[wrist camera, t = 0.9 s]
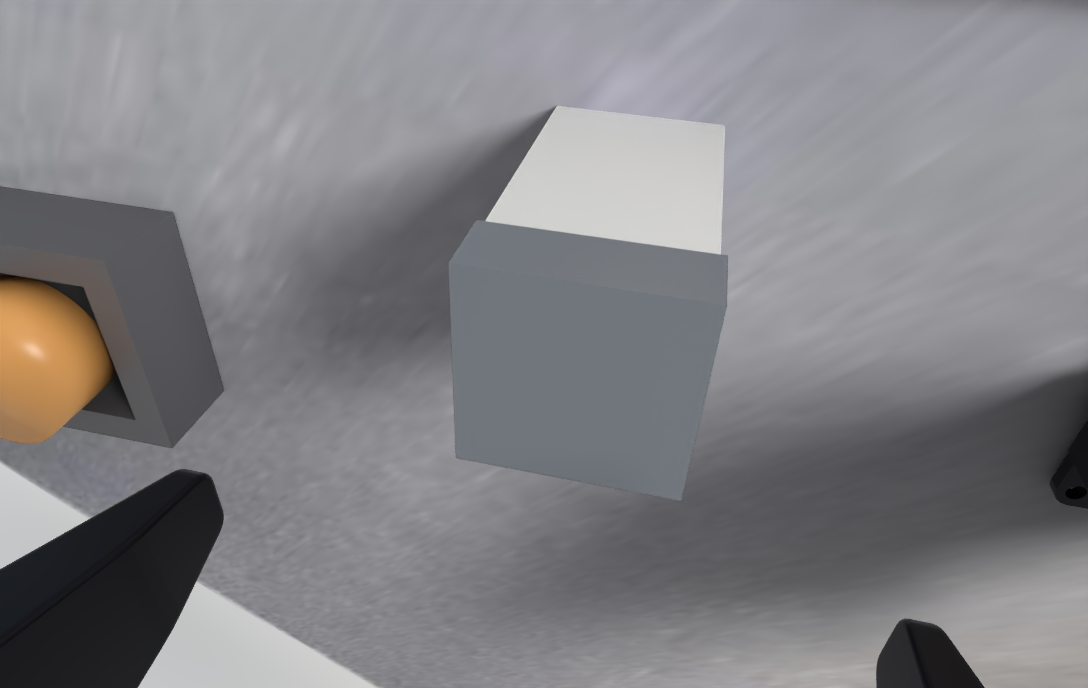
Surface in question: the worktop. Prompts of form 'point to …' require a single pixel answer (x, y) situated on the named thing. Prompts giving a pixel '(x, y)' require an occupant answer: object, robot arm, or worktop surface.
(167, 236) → the button housing
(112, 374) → the button
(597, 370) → the two-tone grey block
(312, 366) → the worktop surface
